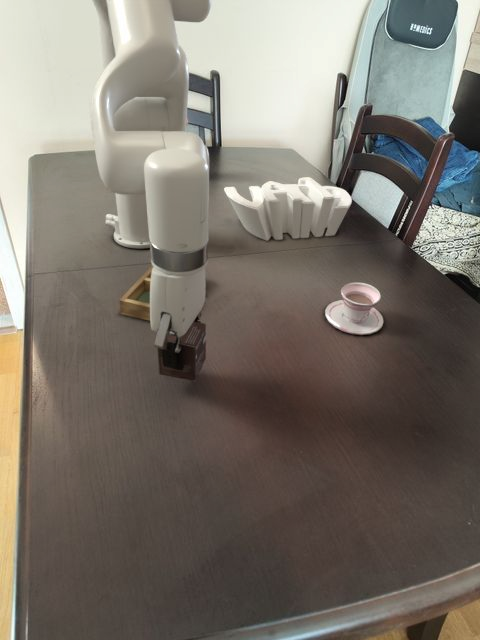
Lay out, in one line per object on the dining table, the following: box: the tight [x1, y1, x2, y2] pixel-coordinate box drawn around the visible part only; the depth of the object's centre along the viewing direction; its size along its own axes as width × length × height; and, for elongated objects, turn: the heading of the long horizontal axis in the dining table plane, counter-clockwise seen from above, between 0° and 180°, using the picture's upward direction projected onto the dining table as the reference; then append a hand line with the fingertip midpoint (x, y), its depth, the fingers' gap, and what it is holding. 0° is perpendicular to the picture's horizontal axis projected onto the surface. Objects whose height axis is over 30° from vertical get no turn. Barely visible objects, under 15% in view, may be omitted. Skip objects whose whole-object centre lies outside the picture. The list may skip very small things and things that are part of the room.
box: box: [156, 321, 207, 382], centre depth 72 cm, size 6×6×7 cm
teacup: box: [324, 281, 384, 336], centre depth 92 cm, size 12×12×6 cm
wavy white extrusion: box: [223, 176, 353, 242], centre depth 123 cm, size 35×16×11 cm, turn 105°
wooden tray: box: [118, 264, 153, 322], centre depth 94 cm, size 9×18×3 cm, turn 165°
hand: (182, 352), depth 72 cm, fingers closed on box, 6 cm apart
